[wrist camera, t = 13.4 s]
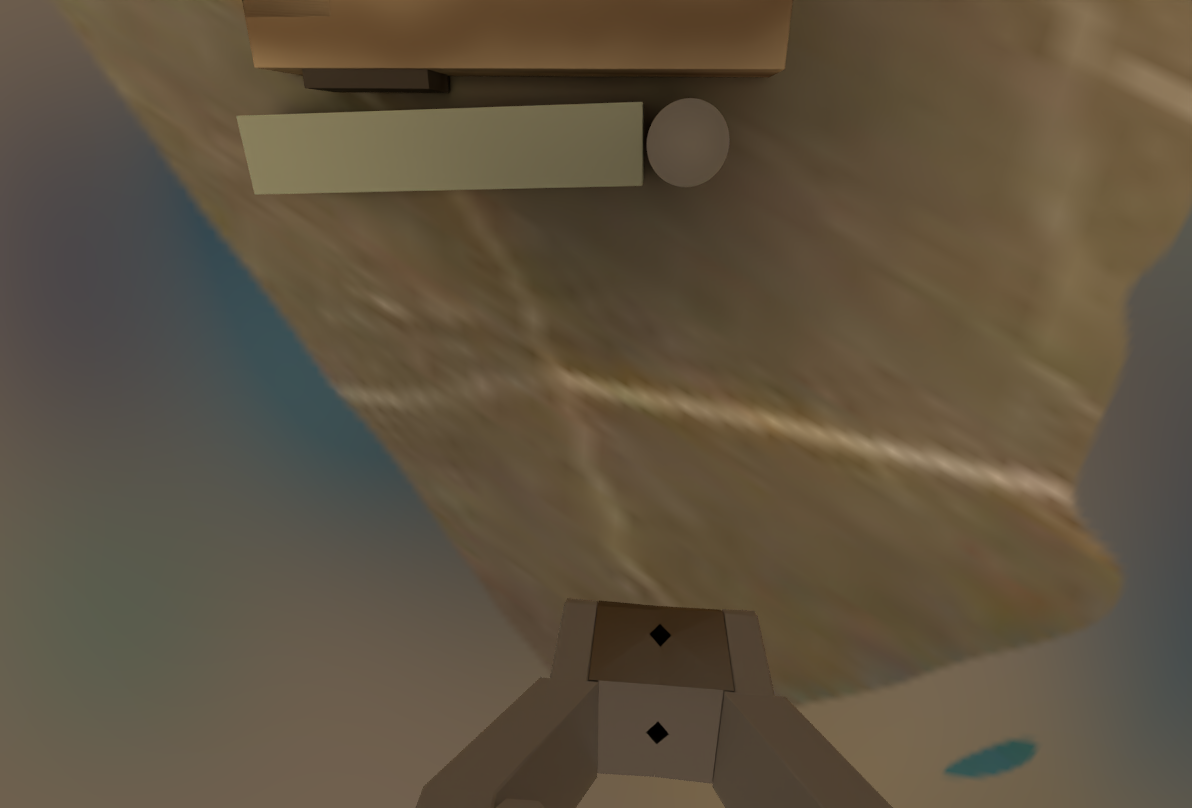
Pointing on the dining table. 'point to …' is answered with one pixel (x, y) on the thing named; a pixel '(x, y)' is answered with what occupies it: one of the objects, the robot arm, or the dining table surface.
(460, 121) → the folding leg
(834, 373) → the dining table surface
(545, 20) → the l-shaped wooden joint
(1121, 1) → the dining table surface
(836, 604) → the dining table surface
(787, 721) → the robot arm
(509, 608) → the dining table surface
